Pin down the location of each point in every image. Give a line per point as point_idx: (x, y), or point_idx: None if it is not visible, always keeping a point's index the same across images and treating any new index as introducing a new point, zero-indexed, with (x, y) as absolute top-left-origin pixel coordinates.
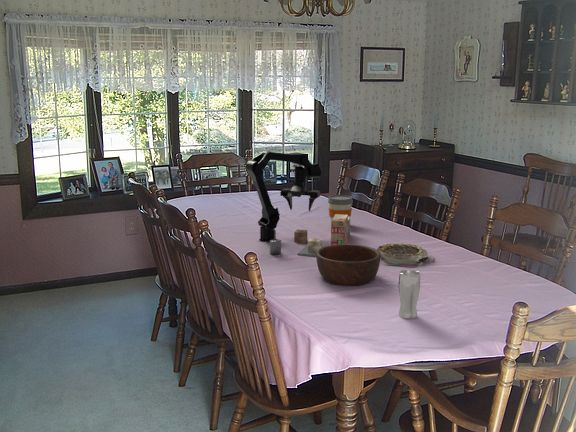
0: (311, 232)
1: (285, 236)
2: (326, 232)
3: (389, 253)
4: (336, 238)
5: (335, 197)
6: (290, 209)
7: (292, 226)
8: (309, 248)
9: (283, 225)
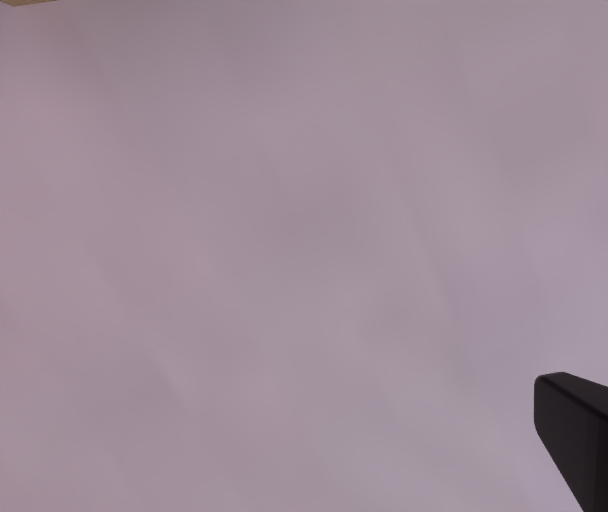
0: (174, 380)
1: (383, 63)
2: (20, 456)
3: None
4: None
5: None
6: (570, 374)
7: (470, 485)
8: None
9: None
